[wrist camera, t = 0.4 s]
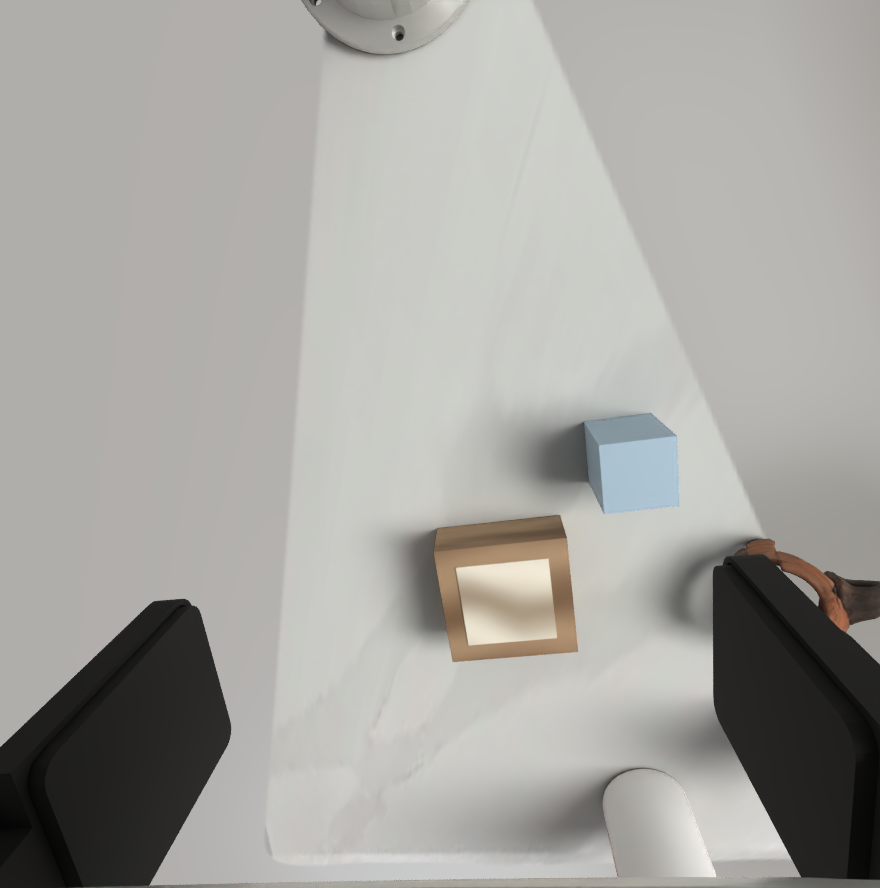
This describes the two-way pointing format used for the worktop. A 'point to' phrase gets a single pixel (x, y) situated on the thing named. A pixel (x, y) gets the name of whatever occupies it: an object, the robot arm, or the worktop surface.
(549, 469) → the worktop surface
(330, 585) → the worktop surface
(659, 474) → the slate block
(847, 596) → the brown segmented ring
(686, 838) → the milk bottle
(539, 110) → the worktop surface
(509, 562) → the walnut plinth
